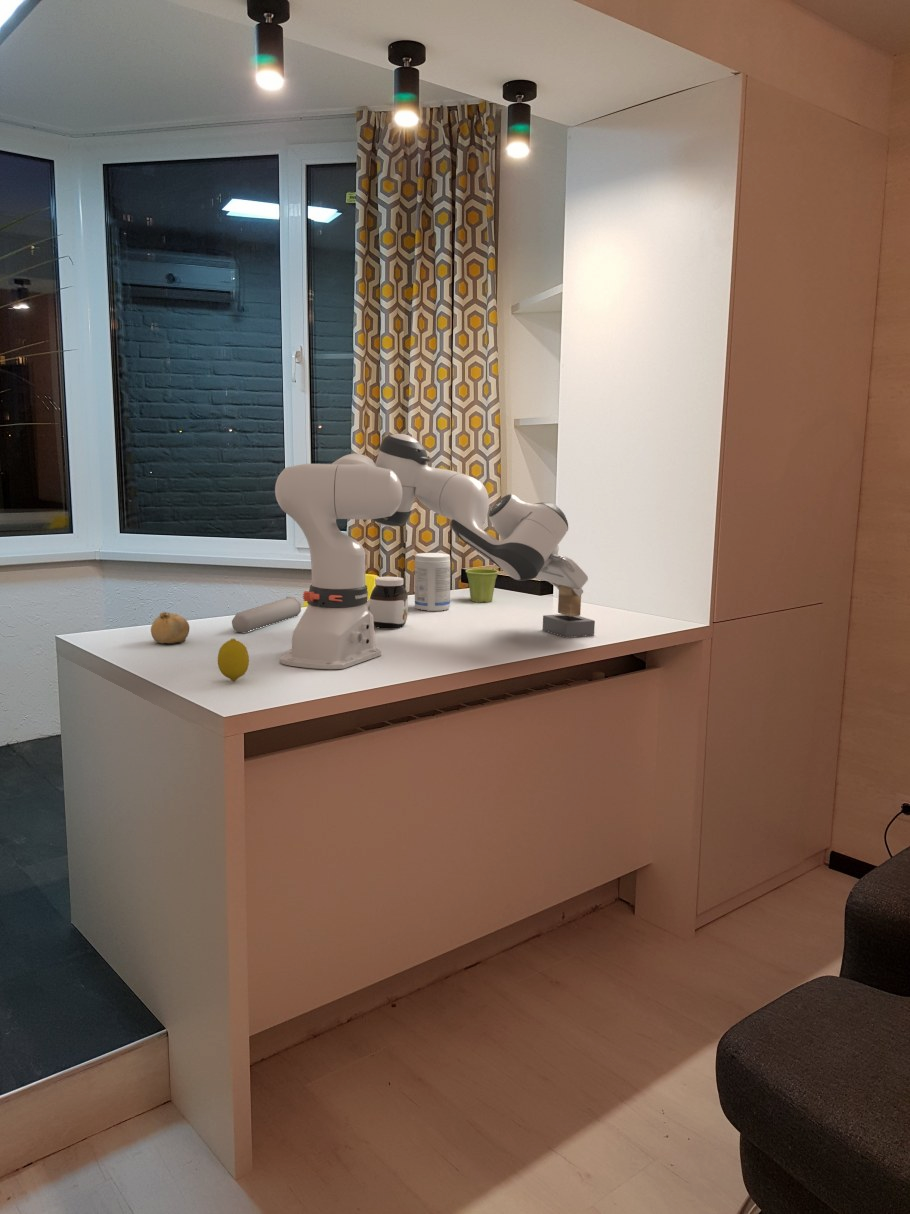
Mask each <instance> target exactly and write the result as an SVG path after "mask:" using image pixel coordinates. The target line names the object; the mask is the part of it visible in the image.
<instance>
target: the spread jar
mask: <svg viewBox="0 0 910 1214" xmlns="http://www.w3.org/2000/svg"><path fill="white" fill-rule="evenodd" d="M374 584H375V586H374V587H373V589H372V591H371V593H370V597H369V599H367V603H366V606H367V608H368V610H369V612H370V613H371V614H372V615H373V620H374V628H377V627H379V628H378V629H381V628H397V629H401V628H403V627H404V626H405V624H406V623H407V620H408V612H409V611H408V609H409V608H408V607H409V606H408V605H409V596H408V595H409V594H408V592H407V589H406V588H405V587H404V578H403V577H399V576H398V577H397V576H378V577H375V578H374ZM400 627H401V628H400Z"/></svg>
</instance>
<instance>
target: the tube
mask: <svg viewBox="0 0 910 1214" xmlns="http://www.w3.org/2000/svg"><path fill="white" fill-rule="evenodd" d="M301 612H302V602H300V600H298V599H297V598H296V597H295V596H286V597H285V598H282V599H279V600H276V601H273V602H269V603H264V604H262V605H260V606H259V605H258V606H257V607H252V608H250V609H249V608H248V609H246V610H243V611H241V612H236V614H235V615H234V617H233V618H232V620H231V626H232V628H233V630H234V631H235V632H236V633H238V632H248V631H250V630H253V629H256V628H260V627H263V626H266V625H269V624H272V623H275V624H277V623H276V622H278V623H280V622H279V621H281V622H283V621H282V620H284V621H286V620H285V619H287V620H289V619H288V618H290V619H292V617H293V618H294V616H297V617H299V615H300V613H301ZM272 625H273V624H272ZM269 626H270V625H269ZM266 627H267V626H266ZM263 628H264V627H263ZM260 629H261V628H260ZM248 633H249V632H248Z"/></svg>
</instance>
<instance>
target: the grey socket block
mask: <svg viewBox="0 0 910 1214" xmlns="http://www.w3.org/2000/svg"><path fill="white" fill-rule="evenodd" d="M595 623H596V621H595V620H594V619H591V618H587V617H584V616H581V615H580V616H567V615H564V614H560V613H558V614H547V615H545V614H544V615H543V616H542V631H545V632H548V631H549V632H548V633H551V632H552V633H551V634H554V633H555V634H554V635H556V634H558V635H557V636H559V635H561V636H560V637H562V636H564V637H563V638H565V637H569V638H575V637H574V636H580V637H586V636H585V635H591V636H595V628H596V627H595Z"/></svg>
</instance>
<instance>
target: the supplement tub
mask: <svg viewBox="0 0 910 1214" xmlns="http://www.w3.org/2000/svg"><path fill="white" fill-rule="evenodd" d="M414 556H415V557H414V558H415V559H414V607H415V609H417V610H418V609H421V610H420V611H422V610H427V611H426V612H443V610H444V611H447V610H449V609H450V607H451V557H450V556H451V555H450V554H449V553H442V552H420V553H416V554H415V555H414Z"/></svg>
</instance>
